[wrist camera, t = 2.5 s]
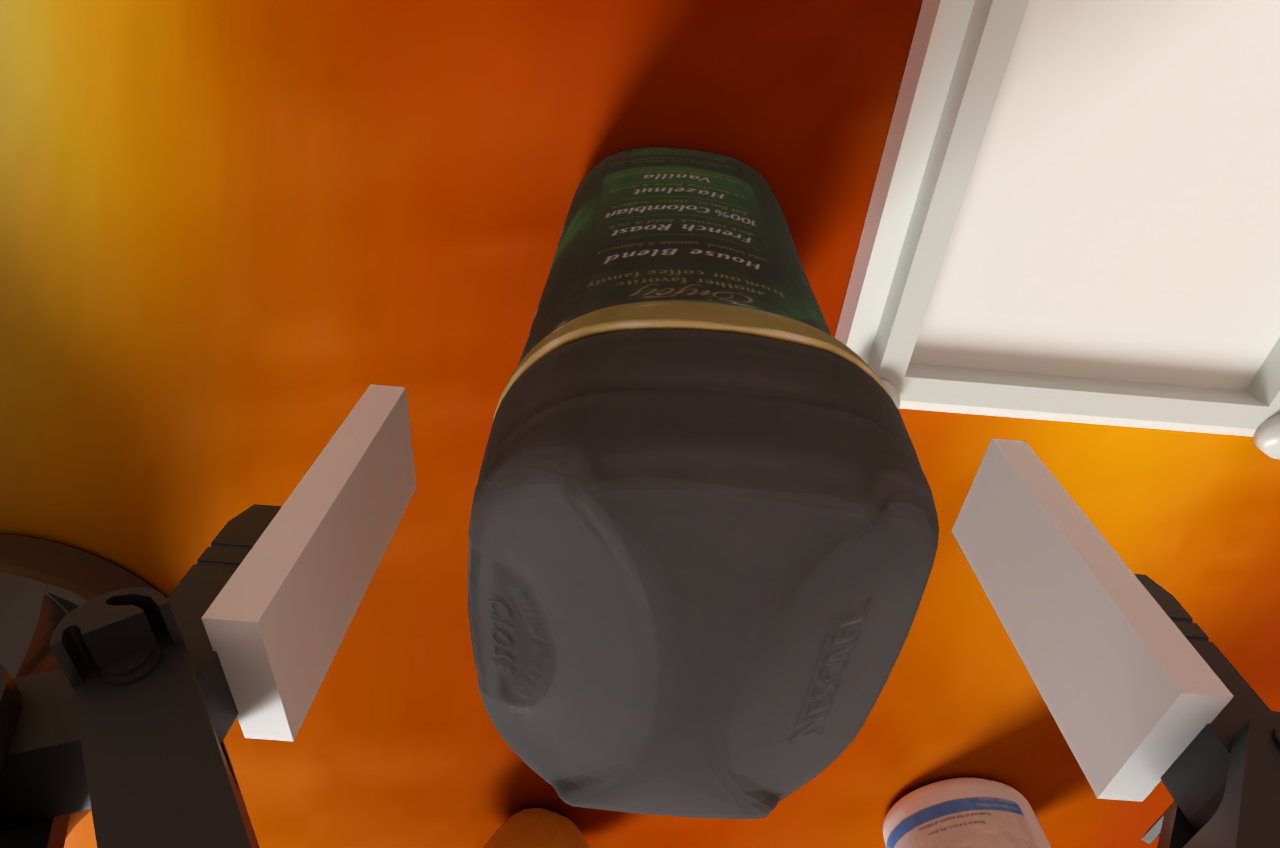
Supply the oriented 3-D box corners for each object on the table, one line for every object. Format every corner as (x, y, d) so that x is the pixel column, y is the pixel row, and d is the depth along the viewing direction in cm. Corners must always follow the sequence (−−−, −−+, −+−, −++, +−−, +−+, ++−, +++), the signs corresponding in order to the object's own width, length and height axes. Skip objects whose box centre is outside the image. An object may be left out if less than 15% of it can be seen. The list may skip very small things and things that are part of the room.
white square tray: (822, 384, 29) (841, 426, 26) (971, -184, 19) (1027, -215, 16) (1237, 418, 29) (1300, 463, 27) (1580, -112, 20) (1734, -129, 17)
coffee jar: (564, 131, 23) (401, 415, 8) (793, 152, 24) (1085, 465, 8) (558, 381, 29) (453, 856, 13) (747, 395, 29) (870, 876, 13)
